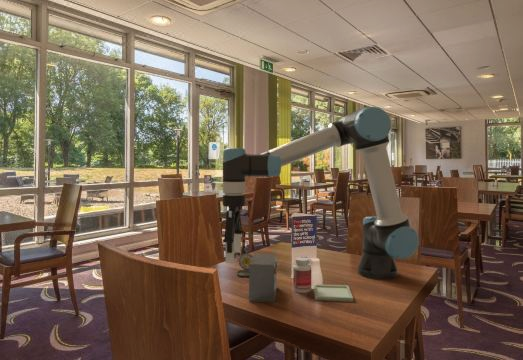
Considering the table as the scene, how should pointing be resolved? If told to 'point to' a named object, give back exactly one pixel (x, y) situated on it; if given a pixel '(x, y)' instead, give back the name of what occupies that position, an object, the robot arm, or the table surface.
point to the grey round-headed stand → (242, 261)
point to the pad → (333, 293)
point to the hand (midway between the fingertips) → (233, 257)
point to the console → (263, 277)
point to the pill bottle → (302, 275)
